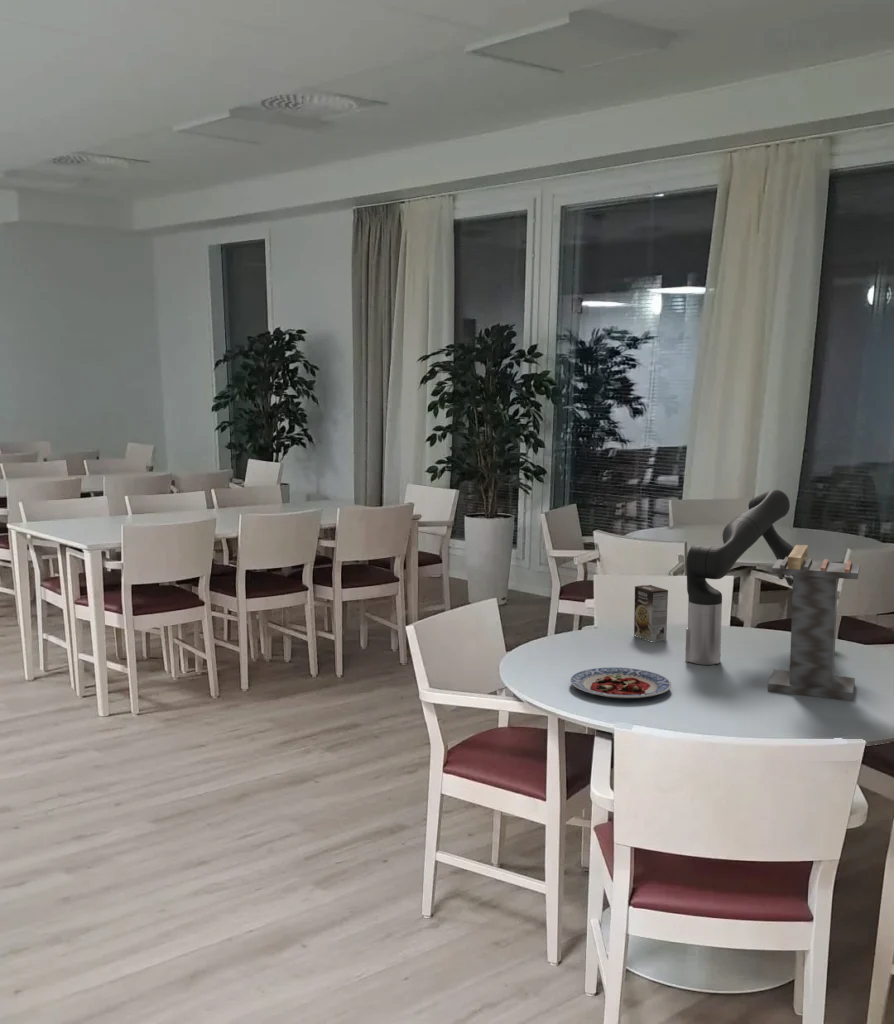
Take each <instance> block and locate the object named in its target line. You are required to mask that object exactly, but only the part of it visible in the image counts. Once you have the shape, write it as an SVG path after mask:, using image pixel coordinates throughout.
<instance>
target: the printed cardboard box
mask: <svg viewBox="0 0 894 1024" xmlns="http://www.w3.org/2000/svg"><path fill="white" fill-rule="evenodd" d="M668 597H669V589H665V588H662V587H659V586H655V585H652V584H648V585H643V584H642V585H635V586H634V610H633V611H634V618H633V619H634V622H633V623H634V624H633V627H634V628H633V636H634V635H636V636H638V637H641V638H643V639H642V640H644V639H646V640H649V641H657V642H661V641H660V640H664V641H667V634H668V632H667V630H668V625H667V624H668V607H669V606H668V599H669V598H668ZM636 636H635V637H636ZM638 637H637V638H638ZM641 638H640V639H641ZM646 640H645V641H646ZM649 641H648V642H649Z"/></svg>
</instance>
